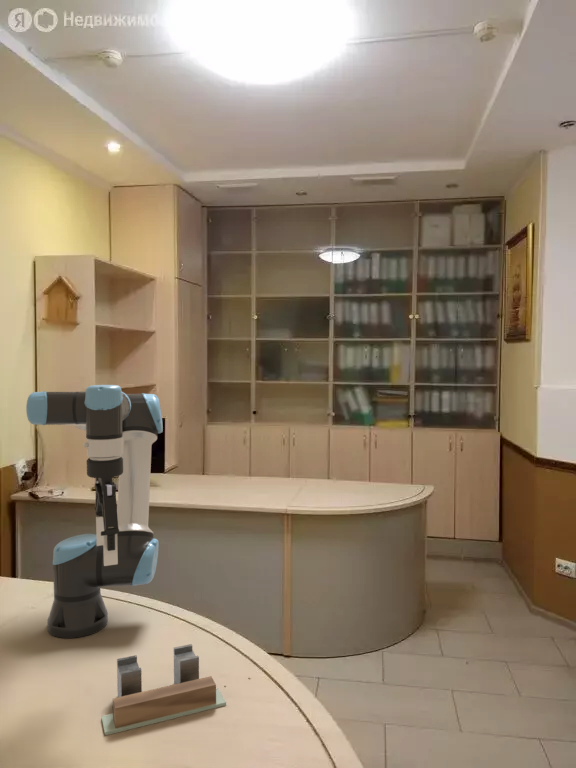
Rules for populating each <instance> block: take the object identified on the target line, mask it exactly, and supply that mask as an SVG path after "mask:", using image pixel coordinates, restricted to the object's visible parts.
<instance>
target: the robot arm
mask: <svg viewBox="0 0 576 768" xmlns="http://www.w3.org/2000/svg"><path fill="white" fill-rule="evenodd" d="M26 417H27V420H28V422H29V423H30V424H31V425H34V426H35V425H37V426H38V425H39V426H41V425H42V426H50V425H51V426H74V427H75V428H77V429H79V430H83V431H85V434H86V435H85V437H86V438H85V439H86V442H84V443H83V444H82V446H83V448H86V457H88V458H87V459H86V475H87V477H89V478H92V479H95V483H94V489H95V490H94V491H95V499H94V501H95V502H94V511H95V515H96V516H95V526H96V527H95V528H96V529H95V531H96V533H95V534H94V533H84V534H83V533H82V534H77V535H73V536H71V537H68V538H65V539H64V540H61V541H60V542H58V543H57V544H56V545H55V546H54V548H53V553H52V554H53V558H52V569H53V570H52V571H53V572H52V574H53V575H52V576H53V601H52V605H51V608H50V611H49V614H48V617H47V622H46V623H47V632H48V633H49V634H50V635H51V636H54V637H56V638H62V639H63V638H64V639H73V638H74V639H75V638H81V637H82V638H83V637H86V636H89V635H92V634H95V633H97V632H99V631H101V630H102V629H104V628H105V627H106V626H107V624H108V621H109V618H108V617H109V616H108V613H109V612H108V610H107V607H106V604H105V601H104V599H103V596H102V594H101V587H122V586H132V587H135V586H139V585H140V586H141V585H147V584H150V583H151V582H152V580H153V579H154V577H155V574H156V570H157V564H158V557H159V547H160V543H159V540H158V539H157V538H154V534H155V533H154V531H152V529H151V528H150V527H149V517H150V515H149V513H150V496H151V495H150V494H151V493H150V490H151V469H152V468H151V467H152V465H151V464H152V445H153V444H154V443H155V442H156V441H157V440H158V434H161V433H163V432H164V431H163V430H164V429H163V428H164V427H163V417H162V408H161V402H160V399H159V396H157V395H156V394H154V393H144V392H142V393H125V392H124V391H122V387H121V386H120V385H117V384H94V385H88V386H87V387H86V388H85V390H84V391H46V390H44V391H35V392H31V393H30V394H29V395H28V397H27V400H26ZM115 477H116V478H117V477H118V485H116V484H115V482H114V481H113V478H115ZM117 486H118V487H117ZM117 489H118V490H117Z"/></svg>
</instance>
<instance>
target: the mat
mask: <svg viewBox="0 0 576 768" xmlns="http://www.w3.org/2000/svg"><path fill="white" fill-rule="evenodd" d="M225 706H227V701H226V699H225V698H224V696H223V694H222V692H221V691H220V689H219V688H216V704H212V705H208V706H204V707H200V708H196V709H192V710H188V711H184V712H180V713H176V714H172V715H168V716H164V717H160V718H156V719H152V720H148V721H144V722H140V723H136V724H132V725H128V726H124V727H120V728H115V724H114V720H113V713H109V714H105V715H101V723H102V727H103V732H104V736H108V735H112V734H116V733H120V732H124V731H128V730H133V729H136V728H140V727H143V726H144V727H145V726H149V725H153V724H156V723H161V722H164V721H165V722H166V721H168V720H173V719H176V718H180V717H185V716H188V715H192V714H197V713H200V712H204V711H207V710H208V711H209V710H212V709H216V708H220V707H225Z"/></svg>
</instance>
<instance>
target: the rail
mask: <svg viewBox="0 0 576 768" xmlns="http://www.w3.org/2000/svg"><path fill="white" fill-rule="evenodd" d="M216 689H217V684H216V682H215V681H214V678H213V677H212V675H211V676H210V675H209V676H205V677H201V678H199V679H196V680H192V681H187V682H183V683H179V684H169V685H165V686H163V687H158V688H153V689H149V690H145V691H142V692H139V693H135V694H130V695H126V696H122V697H118V696H116V697H115V698H112V714H113V720H114V724H115V728H120V727H124V726H128V725H132V724H136V723H140V722H144V721H148V720H152V719H156V718H160V717H164V716H168V715H172V714H176V713H180V712H184V711H188V710H192V709H196V708H200V707H204V706H208V705H212V704H216Z"/></svg>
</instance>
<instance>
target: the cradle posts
mask: <svg viewBox="0 0 576 768" xmlns="http://www.w3.org/2000/svg"><path fill="white" fill-rule="evenodd" d="M199 670H200V656H199V655H196V654H195V652H194V649H193V644H192V643H190V644H189V643H188V644H184V645H180V646H175V647H173V683H174V684H179V683H183V682H187V681H192V680H196V679H200V671H199ZM116 674H117V680H116V681H117V682H116V683H117V697H122V696H126V695H130V694H135V693H139V692H143V690H142V689H143V688H142V686H143V685H142V682H143V681H142V668H141V667H140V665H139V663H138V656H137V655H135V654H134V655H132V656H131V655H130V656H125V657H120V658H116ZM174 684H173V685H174Z"/></svg>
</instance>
